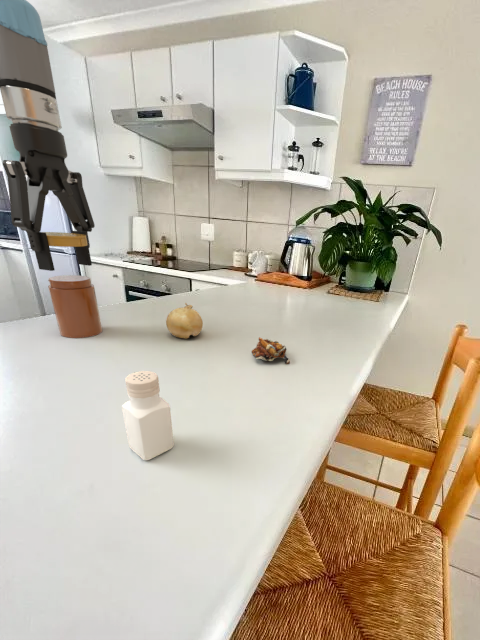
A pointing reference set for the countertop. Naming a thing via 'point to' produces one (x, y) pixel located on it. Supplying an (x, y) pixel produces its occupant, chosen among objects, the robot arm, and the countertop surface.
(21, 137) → the robot arm
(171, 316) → the onion
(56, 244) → the lid
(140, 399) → the salt shaker
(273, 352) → the brown lumpy piece
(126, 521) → the countertop surface
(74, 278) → the jar
